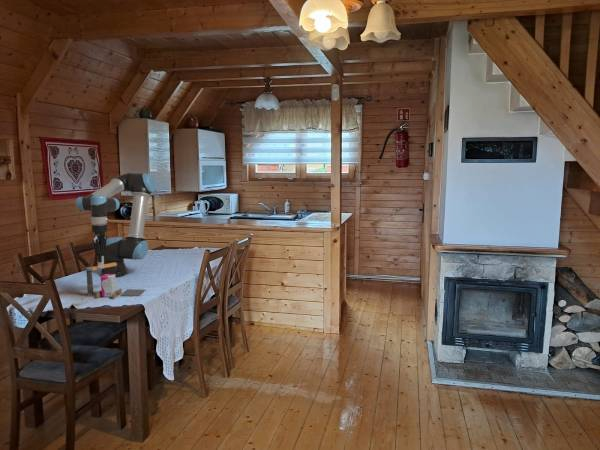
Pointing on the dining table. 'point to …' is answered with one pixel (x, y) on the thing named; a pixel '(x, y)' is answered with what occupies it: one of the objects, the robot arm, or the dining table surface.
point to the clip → (101, 268)
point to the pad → (132, 292)
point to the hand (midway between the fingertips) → (101, 267)
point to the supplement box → (108, 285)
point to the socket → (90, 291)
